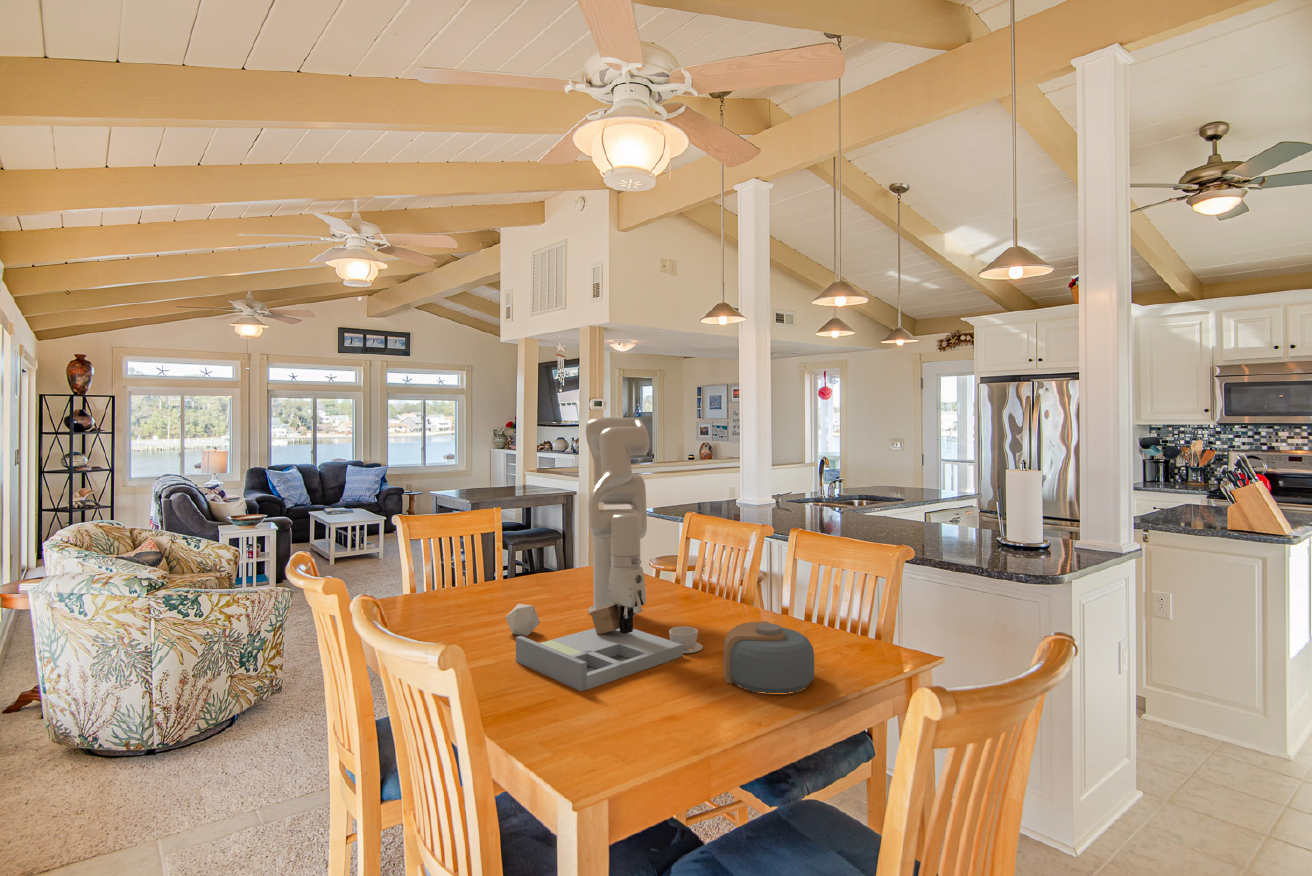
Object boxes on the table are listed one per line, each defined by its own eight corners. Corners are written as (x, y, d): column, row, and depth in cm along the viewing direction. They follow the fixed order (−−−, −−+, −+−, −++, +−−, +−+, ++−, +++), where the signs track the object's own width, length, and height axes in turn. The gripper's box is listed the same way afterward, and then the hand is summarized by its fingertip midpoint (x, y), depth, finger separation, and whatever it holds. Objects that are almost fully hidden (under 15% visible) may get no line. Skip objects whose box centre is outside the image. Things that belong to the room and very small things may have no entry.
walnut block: (610, 628, 178) (604, 606, 179) (627, 624, 175) (621, 602, 176) (596, 634, 173) (590, 612, 174) (614, 630, 170) (607, 607, 171)
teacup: (699, 656, 166) (699, 637, 165) (660, 653, 168) (660, 634, 168) (705, 643, 175) (705, 626, 175) (668, 641, 178) (668, 623, 178)
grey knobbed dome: (752, 658, 163) (752, 609, 163) (828, 677, 151) (828, 624, 151) (707, 681, 149) (707, 628, 148) (788, 705, 136) (788, 646, 136)
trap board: (614, 633, 184) (614, 611, 184) (682, 656, 165) (682, 632, 165) (515, 661, 162) (515, 637, 162) (581, 691, 143) (581, 663, 143)
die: (545, 633, 186) (535, 602, 191) (537, 626, 178) (528, 594, 183) (517, 645, 185) (508, 613, 190) (509, 638, 178) (499, 605, 182)
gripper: (656, 563, 169) (656, 635, 169) (618, 555, 179) (618, 623, 180) (634, 567, 163) (634, 641, 164) (596, 559, 174) (596, 629, 174)
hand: (626, 632), depth 172 cm, fingers closed
